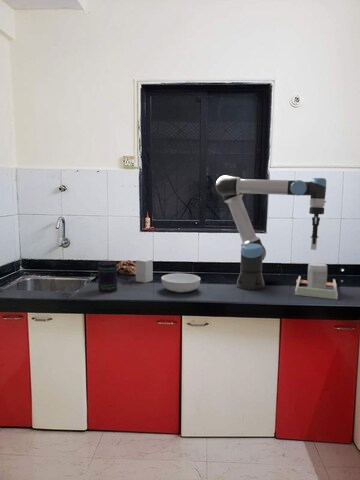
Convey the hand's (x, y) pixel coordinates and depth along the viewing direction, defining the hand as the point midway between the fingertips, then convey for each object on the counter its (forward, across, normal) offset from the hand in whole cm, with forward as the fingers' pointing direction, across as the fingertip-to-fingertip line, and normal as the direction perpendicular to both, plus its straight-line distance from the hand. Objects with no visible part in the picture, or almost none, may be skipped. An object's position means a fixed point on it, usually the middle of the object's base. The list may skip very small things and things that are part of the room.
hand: (313, 249), depth 195 cm
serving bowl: (+23, -37, +64) cm, 77 cm away
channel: (+21, -4, -3) cm, 22 cm away
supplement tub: (+21, -10, -3) cm, 24 cm away
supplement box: (+23, -27, +91) cm, 98 cm away
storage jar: (+23, -54, +98) cm, 114 cm away
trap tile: (+21, +8, -3) cm, 23 cm away
